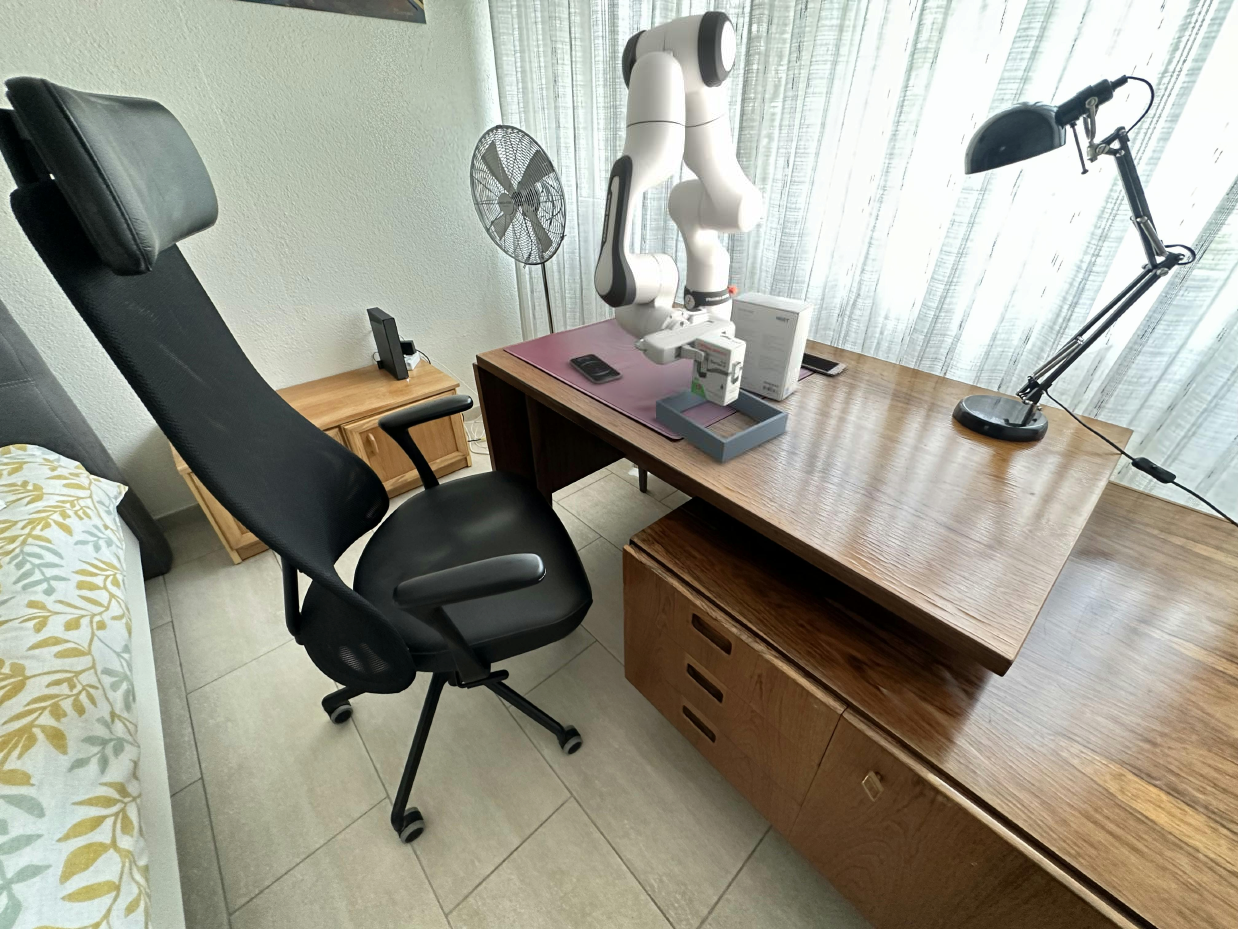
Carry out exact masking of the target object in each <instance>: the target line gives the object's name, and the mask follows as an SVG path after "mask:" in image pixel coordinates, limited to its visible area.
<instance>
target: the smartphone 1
mask: <svg viewBox="0 0 1238 929" xmlns="http://www.w3.org/2000/svg"><path fill="white" fill-rule="evenodd" d="M569 364H570V365H572V367H574V368H575V369H576V370H577V371H579V373H581V374H582V375H583V376H585V377H586V378H587V379H588V380H590V381H591V382H592V383H593V384H596V385H600V384H604V383H607V382H610V381H614V380H618V379H620V378H621V372H620V371H618V370H617V369H615V368H614V367H612V366H611V364H608V363H607V362H606V361H605V360H603V359H602V358H600V357H599V356H597V355H596V354H594V353H588V354H584V355H581V356H578V357H574V358H571V359H569Z"/></svg>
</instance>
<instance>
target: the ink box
mask: <svg viewBox="0 0 1238 929" xmlns="http://www.w3.org/2000/svg"><path fill="white" fill-rule="evenodd" d="M745 348H746V343H745V342H744V341H742V340H739V339H737V338H734V337H731V336H728V335H726V334H723V333H720V332H717V331H709V332H707V333H704V334H702V335H700V336H698V337H696V340H695V349H698V350H699V349H704V350H706V351H707V352H708V356H707V357H708V359H707V360H705V361H702V362H700V361H698V360H694V359H693V364H692V375H691V385H690V388H691V392H692V393H695V394H697V395H699V396H701V397H704V398H706V399H708V401H709V402H710V401H711V402H712V403H715V404H718V405H720V406H721V407H725V406H727V405H728V404H729V403H730V402H732V401H734V400H736V399H737V398H738V393H739V389H740V387H739V386H740V380H741V374H742V367H743V361H744V354H745Z"/></svg>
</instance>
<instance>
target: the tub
mask: <svg viewBox="0 0 1238 929" xmlns="http://www.w3.org/2000/svg"><path fill="white" fill-rule="evenodd" d="M708 401H709V400H708V399H706V398H704V397H701V396H699V395H697V394H695V393H692V392H691V387H689V388H687V389H683V390H681V391H678V392H676V393H673V394H670V395H667V396H665V397H662V398H659V399H657V400H655V420H656V421H657V422H658V423H660V424H662V425H663V426H665V427H666V428H667V429H669V430H671V431H672V432H674V433H676V435H678V436H680V437H681V438H683V439H684V440H686V441H687V442H688V443H691V444H692V445H694V446H695V447H697V448H698V449H699V450H701V451H703V452H704V453H706V454H707V455H709V456H710V457H712V458H713V459H715V460H716V461H718V462H719V463H721V464H723V463H725V462H727V461H729V460H731V459H733V458H735V457H737V456H739V455H742V454H744V453H745V452H748V451H750V450H752V449H754V448H755V447H757V446H759V445H760V446H761V445H762V444H764V443H766V442H768V441H770V440H771V439H774V438H776V437H778V436H781V435H782V434H784V433H785V432H786V427H787V424H788V423H787V422H788V419H789V414H790V412H788V411H786V410H784V409H782V408H780V407H778V406H775V405H774V404H772V403H769V402H768V401H766V400H763V399H761V398H759V397H758V396H755V395H753V394H751V393H749V392H748V391H746V390H744V389H742V388H739V393H738V398H737V399H736V400H734V401H732V402H730V403H729V404H727V405H728V406H730V407H732V408H734V409H736V410H738V411H739V412H741V413H743V414H744V415H747V416H749V417H750V418H752V419H754V420H756V421H758V422H759V423H758V424H755V425H753V426H751V427H749V428H747V429H744V430H743V431H740V432H737V433H736V434H733V435H731V436H730V437H727V438H725V439H724V438H722V437H721V436H719V435H718V434H716V433H715V432H713V431H711V430H709V429H708V428H706V426H705V427H704V426H703V425H702V424H699V423H698V422H696V421H695V420H693V419H691V418H690V417H688V416H687V415H685V414H683V413H682V412H684V411H686V410H688V409H691V408H693V407H696V406H698V405H701V404H703V403H706V402H708Z"/></svg>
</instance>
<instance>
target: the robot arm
mask: <svg viewBox="0 0 1238 929" xmlns="http://www.w3.org/2000/svg"><path fill="white" fill-rule="evenodd" d="M736 50H737V41H736V33H735V27H734V24H733V22H732V20H731V19H730V17H729V16H728V15H727V14H726V12H724V11H717V10H708V11H705V12H704V13H703V14H692V15H691V14H690V15H686V16H680V17H676V18H673V19H671V20H670V21H667V22H664V23H662V24H659V25H656V26H654V27H652V28H650V29H642V30H640V31H638V32H636V33H635V34H633V35H632V36H630V38H628V40H627V41H626V43H625V46H624V49H623V51H622V56H621V74H622V78H623V82H624V85H625V87H626V89H627V91H628V92H627V102H626V111H625V112H626V114H625V137H624V138H625V139H624V144H623V149H622V153H621V154H620V157H619V158H617V159H616V160H615V161H614V162H613V164H612V167H611V170H610V173H609V177H608V178H609V179H608V183H607V184H608V185H607V189H606V190H607V191H606V198H605V205H604V207H605V208H604V215H603V222H602V223H603V224H602V225H603V226H602V230H601V231H602V232H601V239H600V240H601V241H600V249H599V254H598V258H597V262H596V265H595V269H594V274H593V284H594V285H593V286H594V289H595V291H596V293H597V295H598V297H599V299H601V300H602V301H603V302H604V303H605V304H606V305H608V306H609V307H610V308H614V318H615V321H616V322H617V324H618V326H619V327H620V328H621V329H622V330H623V332H625V333H626V334H628V335H630V336H631V337H632V338H635V339H637V340H636V342H635V343H634V347H635V349H637V350H639V351H641V352H642V354H643V355H644V357H646V358H647V359H648V360H649V361H650V362H652V363H654V364H656V365H659V366H666V365H669V364H671V363H674V362H678V361H680V360H683V359H685V360H693V361H694V360H698V361H700V362H702V361H705V360H707V359H708V357H707V356H708V352H707V351H706V350H704V349H699V350H698V349H695V340H696V337H698V336H700V335H702V334H704V333H707V332H709V331H717V332H720V333H723V334H726V335H728V336H731V337H734V335H735V325H734V323H733V322H731V321H730V316H731V307H732V299H731V294H732V295H737V293H738V290H739V289H738V287H737V286H733V285H730V286H728V280H729V270H730V261H731V258H730V255H729V253H728V251H727V250H726V248H724V247H723V245H722V244H721V243H720V240H719V238H718V234H717V233H722V234H727V235H728V234H729V235H733V234H743V233H749V232H751V231H752V230H753V229H754V228H755V227H756V225H757V224H758V222H759V221H760V218H761V216H762V213H763V208H764V206H763V202H764V201H763V198H762V194H761V191H760V190H759V189H758V187H756V186H755V185H753V183H751V181H750V180H749V178H747V176H746V174H745V173H744V171H743V169H742V168H741V166H740V164H739V162H738V159H737V156H736V154H735V151H734V147H733V140H732V134H731V133H732V132H731V125H730V116H729V115H730V114H729V104H728V94H727V88H726V83H725V81H726V80H727V79H728V77H729V76H730V74H731V72H732V70H733V68H734V65H735V60H736ZM682 160H683V163H684V164H685V166H686V167H687V168H688V170H690V171H691V172H692V173H693V174H694V175H695V176H696V177H697V178H691V179H686V180H683V181H679V182H677V183H676V184H675V185H674V186H673V187H672V189H671V190H670V193H669V194H668V199H667V211H668V216H669V218H670V219H671V220H672V222H674V224H675V225H676V227H677V228H678V230H679V233H680V235H681V237H682V240H683V243H684V248H685V255H686V272H685V274H686V277H685V278H686V279H685V280H686V281H685V285H684V286H683V298H682V299H683V306H682V308H680V307H674V304H675V302H676V298H677V295H678V291H679V287H680V282H681V280H680V279H681V276H680V270H679V267H678V265H677V262H676V261H675V259H674V258H673V257H672V256H671V255H669V253H665V252H645V253H630V249H629V246H630V239H631V232H632V224H633V217H634V210H635V205H636V204H637V201H638V199H639V198H640V197H641V195H643V193H645V192H646V191H648V190H649V189H651V188H653V187H656V186H657V185H660V184H663V183H664V182H665V181H667V180H669V179H670V178H671V177H672V175H674V174H675V172H676V171H677V170H678V168H679V167H680V165H681V163H682Z"/></svg>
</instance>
